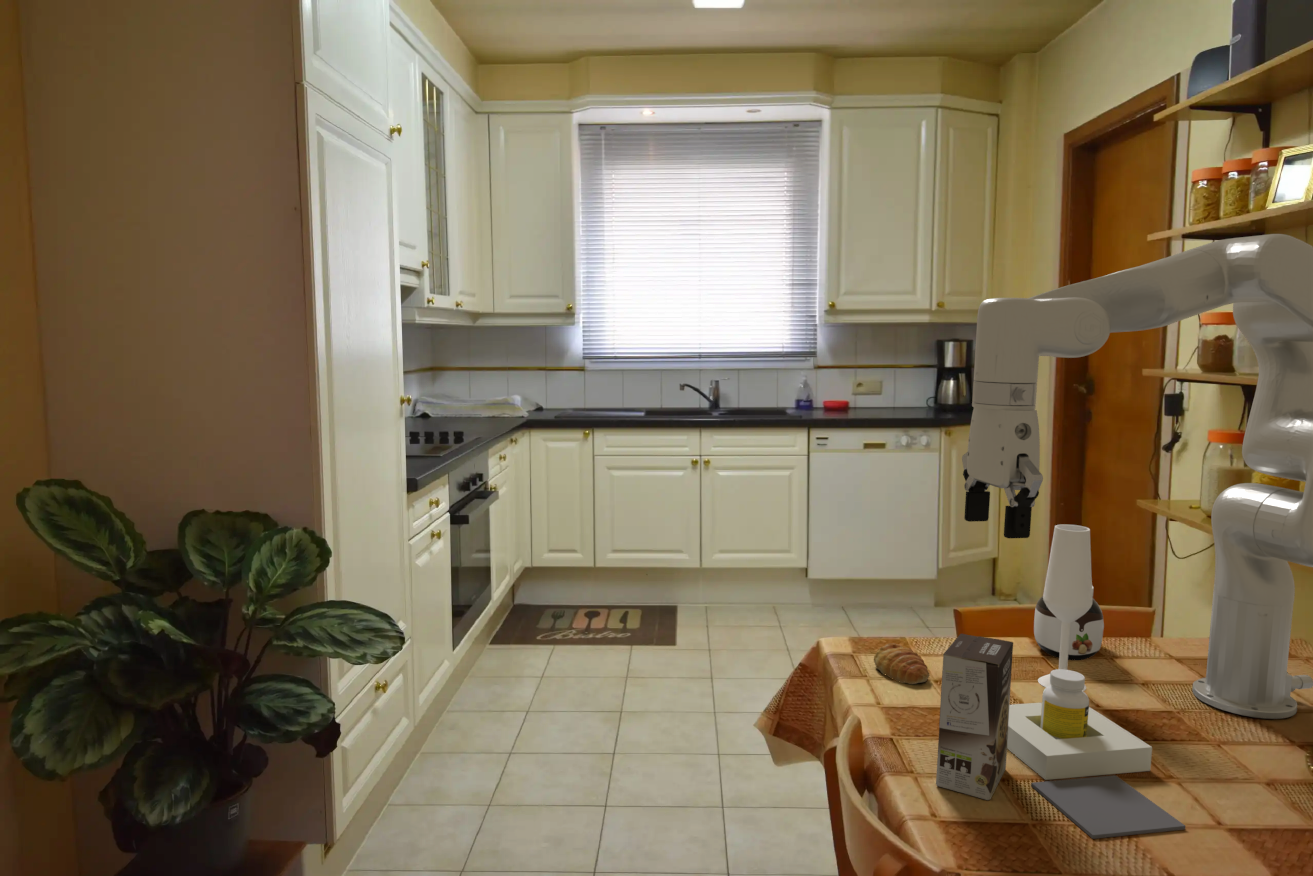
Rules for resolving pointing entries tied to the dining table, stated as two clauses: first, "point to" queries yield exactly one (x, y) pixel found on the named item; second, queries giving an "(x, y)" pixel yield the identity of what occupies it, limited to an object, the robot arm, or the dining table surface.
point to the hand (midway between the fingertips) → (995, 528)
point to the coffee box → (974, 715)
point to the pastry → (901, 664)
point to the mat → (1106, 807)
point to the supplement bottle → (1065, 705)
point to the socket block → (1075, 746)
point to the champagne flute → (1068, 583)
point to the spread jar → (1082, 632)
